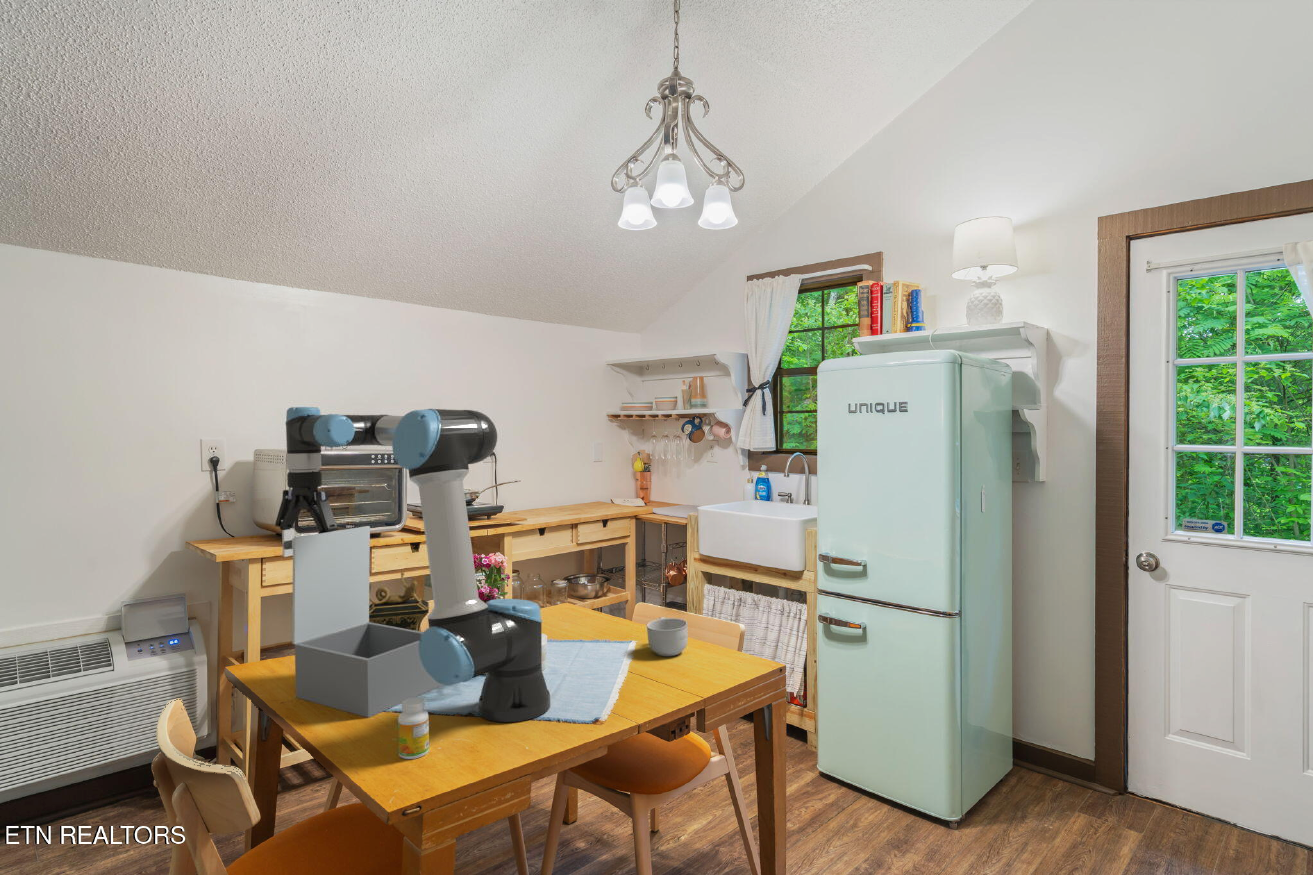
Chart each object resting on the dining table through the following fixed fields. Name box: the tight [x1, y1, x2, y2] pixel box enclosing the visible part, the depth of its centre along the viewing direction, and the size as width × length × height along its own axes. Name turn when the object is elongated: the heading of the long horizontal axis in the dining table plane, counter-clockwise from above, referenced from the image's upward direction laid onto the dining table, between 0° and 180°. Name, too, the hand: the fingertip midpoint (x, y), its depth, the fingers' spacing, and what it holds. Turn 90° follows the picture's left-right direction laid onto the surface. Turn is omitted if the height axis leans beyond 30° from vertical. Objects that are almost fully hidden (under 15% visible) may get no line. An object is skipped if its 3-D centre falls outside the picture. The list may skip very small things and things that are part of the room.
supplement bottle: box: [397, 696, 430, 760], centre depth 132 cm, size 5×5×10 cm
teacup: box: [646, 616, 689, 657], centre depth 190 cm, size 14×11×8 cm
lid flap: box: [282, 525, 371, 645], centre depth 171 cm, size 24×20×9 cm
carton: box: [294, 622, 441, 719], centre depth 163 cm, size 24×20×12 cm
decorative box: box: [369, 570, 430, 632], centre depth 198 cm, size 20×10×20 cm, turn 107°
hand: (306, 558), depth 173 cm, fingers open, 13 cm apart
